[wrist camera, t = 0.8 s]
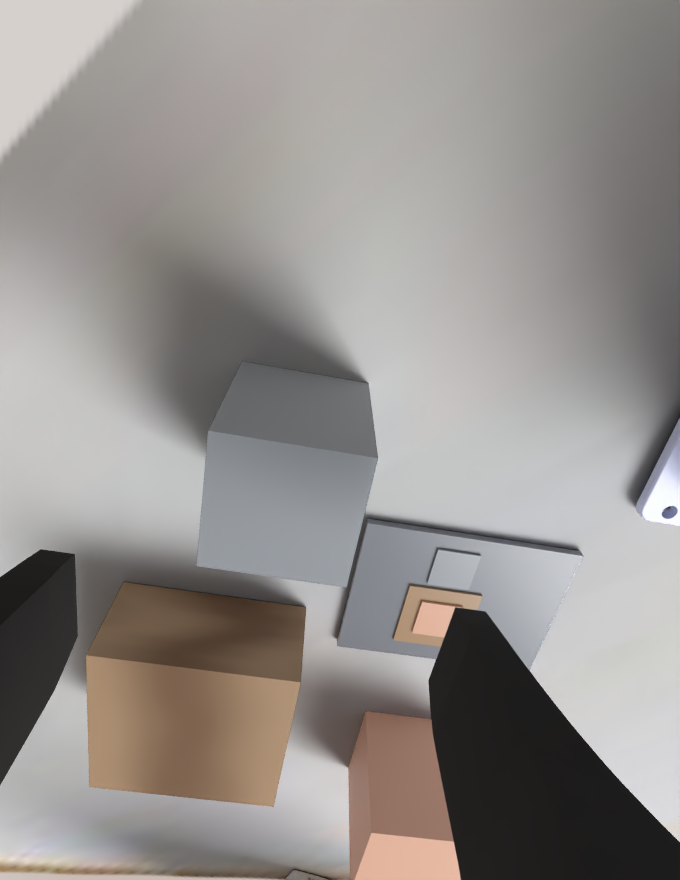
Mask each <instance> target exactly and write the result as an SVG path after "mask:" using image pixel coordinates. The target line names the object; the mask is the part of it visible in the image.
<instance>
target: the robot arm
mask: <svg viewBox="0 0 680 880" xmlns="http://www.w3.org/2000/svg"><path fill="white" fill-rule="evenodd" d="M668 506H671V507H670V509H669V510H667V511H665V512H662V511H663V510H664V509H665V508H666V507H668ZM636 509H637V512H638V513H639V514H640V516H641V517H642V518H643V519H644V520H647V521H650V522H656V523H662V524H669V525H675V526H680V418H679V420H678V422H677V424H676V426H675V428H674V430H673V432H672V434H671V436H670V438H669V440H668V442H667V444H666V446H665V448H664V450H663V452H662V454H661V456H660V458H659V460H658V462H657V464H656V466H655V468H654V470H653V472H652V474H651V476H650V478H649V480H648V482H647V484H646V486H645V488H644V490H643V492H642V494H641V496H640V498H639V500H638V502H637V505H636ZM77 636H78V634H77V605H76V576H75V554H70V553H62V552H55V551H48V550H39V551H38V552H36V553H35V554H33V555H32V556H30V557H29V558H27V559H26V560H24V561H23V562H21V563H20V564H18V565H17V566H16V567H14V568H13V569H11V570H10V571H8V572H7V573H6V574H4V575H3V576H1V577H0V784H1V783H2V781H3V779H4V778H5V776H6V774H7V772H8V771H9V769H10V767H11V765H12V764H13V762H14V760H15V758H16V757H17V755H18V753H19V752H20V750H21V748H22V746H23V745H24V743H25V741H26V739H27V738H28V736H29V734H30V732H31V731H32V729H33V727H34V725H35V724H36V722H37V720H38V718H39V717H40V715H41V713H42V711H43V709H44V708H45V706H46V704H47V702H48V701H49V699H50V697H51V695H52V693H53V692H54V690H55V688H56V685H57V683H58V681H59V679H60V676H61V674H62V672H63V670H64V667H65V665H66V663H67V660H68V658H69V655H70V653H71V651H72V648H73V646H74V643H75V641H76V639H77ZM429 694H430V708H431V720H432V731H433V738H434V744H435V749H436V754H437V759H438V765H439V770H440V775H441V780H442V785H443V790H444V795H445V800H446V805H447V810H448V815H449V820H450V825H451V830H452V835H453V840H454V845H455V850H456V855H457V860H458V866H459V872H460V878H461V880H680V842H679V841H678V840H677V839H676V838H675V837H674V836H673V835H672V834H671V833H670V832H669V831H668V830H667V829H666V828H665V827H664V826H663V825H662V824H661V823H660V822H659V821H658V820H657V819H656V818H655V817H654V816H653V815H652V814H651V813H650V812H649V811H648V810H647V809H646V808H645V807H644V806H643V805H642V804H641V803H640V801H639V800H638V799H637V798H636V797H635V796H634V795H633V794H632V793H631V792H630V791H629V790H628V789H627V788H626V787H625V786H624V785H623V784H622V783H621V781H620V780H619V779H618V778H617V777H616V776H615V775H614V774H613V773H612V772H611V770H610V769H609V768H608V767H607V766H606V765H605V764H604V763H603V761H602V760H601V759H600V758H599V757H598V756H597V754H596V753H595V752H594V751H593V750H592V748H591V747H590V746H589V745H588V744H587V743H586V741H585V740H584V739H583V738H582V737H581V736H580V734H579V733H578V732H577V731H576V730H575V728H574V727H573V726H572V725H571V724H570V722H569V721H568V720H567V719H566V717H565V716H564V715H563V714H562V712H561V711H560V710H559V709H558V707H557V706H556V705H555V704H554V702H553V701H552V700H551V698H550V697H549V696H548V695H547V693H546V692H545V691H544V689H543V688H542V687H541V685H540V684H539V683H538V682H537V680H536V679H535V678H534V676H533V675H532V674H531V672H530V671H529V670H528V668H527V667H526V666H525V664H524V663H523V661H522V660H521V659H520V657H519V656H518V655H517V653H516V652H515V651H514V649H513V648H512V646H511V645H510V644H509V642H508V641H507V640H506V638H505V637H504V636H503V634H502V633H501V631H500V630H499V629H498V627H497V626H496V625H495V623H494V622H493V621H492V619H491V618H490V617H489V615H488V614H487V613H486V611H479V610H472V609H464V608H457V607H455V609H454V612H453V615H452V618H451V620H450V623H449V626H448V629H447V631H446V634H445V637H444V640H443V642H442V645H441V648H440V651H439V653H438V656H437V659H436V662H435V664H434V667H433V670H432V673H431V675H430V678H429Z"/></svg>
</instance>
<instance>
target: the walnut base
mask: <svg viewBox="0 0 680 880" xmlns="http://www.w3.org/2000/svg"><path fill="white" fill-rule="evenodd" d="M305 616H306V607H301V606H293V605H286V604H279V603H272V602H264V601H257V600H250V599H243V598H235V597H228V596H221V595H214V594H206V593H199V592H192V591H185V590H177V589H170V588H163V587H156V586H148V585H141V584H134V583H127V582H123V584H122V586H121V588H120V590H119V592H118V594H117V596H116V598H115V600H114V602H113V604H112V605H111V607H110V609H109V611H108V613H107V615H106V617H105V619H104V621H103V623H102V625H101V627H100V629H99V631H98V633H97V635H96V637H95V639H94V641H93V643H92V644H91V646H90V648H89V650H88V652H87V654H86V676H87V714H88V752H89V787H94V788H104V789H113V790H122V791H132V792H141V793H150V794H160V795H169V796H178V797H188V798H197V799H206V800H216V801H225V802H234V803H244V804H253V805H262V806H271V807H274V802H275V798H276V793H277V788H278V784H279V779H280V775H281V770H282V766H283V761H284V756H285V752H286V747H287V743H288V738H289V734H290V729H291V724H292V720H293V715H294V711H295V706H296V702H297V697H298V692H299V688H300V683H301V671H302V657H303V644H304V630H305Z"/></svg>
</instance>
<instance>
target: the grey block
mask: <svg viewBox="0 0 680 880" xmlns="http://www.w3.org/2000/svg"><path fill="white" fill-rule="evenodd" d="M377 461H378V454H377V446H376V439H375V431H374V423H373V415H372V407H371V399H370V392H369V384H368V383H364V382H358V381H353V380H347V379H341V378H335V377H329V376H324V375H318V374H312V373H306V372H301V371H295V370H289V369H283V368H277V367H272V366H266V365H260V364H254V363H248V362H243V361H242V363H241V365H240V367H239V369H238V371H237V373H236V375H235V377H234V379H233V381H232V383H231V385H230V387H229V389H228V391H227V393H226V395H225V397H224V399H223V401H222V403H221V405H220V407H219V409H218V412H217V414H216V416H215V418H214V420H213V422H212V424H211V426H210V428H209V430H208V438H207V449H206V461H205V472H204V484H203V496H202V507H201V519H200V530H199V542H198V554H197V565H196V566H199V567H206V568H213V569H220V570H227V571H234V572H241V573H248V574H255V575H262V576H269V577H276V578H283V579H290V580H297V581H304V582H311V583H318V584H325V585H332V586H339V587H346V588H347V583H348V579H349V575H350V571H351V567H352V563H353V559H354V555H355V551H356V547H357V543H358V538H359V534H360V530H361V526H362V522H363V518H364V514H365V510H366V506H367V502H368V497H369V493H370V489H371V485H372V481H373V477H374V473H375V469H376V465H377Z"/></svg>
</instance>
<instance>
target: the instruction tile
mask: <svg viewBox="0 0 680 880" xmlns="http://www.w3.org/2000/svg"><path fill="white" fill-rule="evenodd" d="M582 558H583V555H582V553H581V551H577V550H570V549H564V548H557V547H551V546H544V545H538V544H531V543H525V542H518V541H512V540H505V539H499V538H492V537H485V536H479V535H472V534H466V533H459V532H453V531H446V530H440V529H433V528H427V527H420V526H414V525H407V524H400V523H394V522H387V521H381V520H374V519H368V518H367V522H366V526H365V530H364V534H363V538H362V542H361V546H360V550H359V554H358V558H357V562H356V566H355V570H354V574H353V578H352V582H351V586H350V590H349V594H348V598H347V602H346V607H345V611H344V615H343V619H342V623H341V627H340V631H339V635H338V639H337V646H341V647H349V648H356V649H364V650H371V651H379V652H386V653H394V654H401V655H409V656H417V657H424V658H432V659H437V656H438V653H439V651H440V648H441V645H442V642H443V640H444V637H445V634H446V631H447V629H448V626H449V623H450V620H451V618H452V615H453V612H454V609H455V607H457V608H464V609H472V610H479V611H486V613H487V614H488V615H489V617H490V618H491V619H492V621H493V622H494V623H495V625H496V626H497V627H498V629H499V630H500V631H501V633H502V634H503V636H504V637H505V638H506V640H507V641H508V642H509V644H510V645H511V646H512V648H513V649H514V651H515V652H516V653H517V655H518V656H519V657H520V659H521V660H522V661H523V663H524V664H525V666H526V667H527V668H528V670H530V668H531V666H532V664H533V662H534V659H535V657H536V655H537V653H538V651H539V649H540V647H541V645H542V643H543V640H544V638H545V636H546V634H547V632H548V630H549V628H550V626H551V624H552V621H553V619H554V617H555V615H556V613H557V611H558V609H559V607H560V605H561V602H562V600H563V598H564V596H565V594H566V592H567V590H568V588H569V586H570V583H571V581H572V579H573V577H574V575H575V573H576V571H577V569H578V567H579V564H580V562H581V560H582Z"/></svg>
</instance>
